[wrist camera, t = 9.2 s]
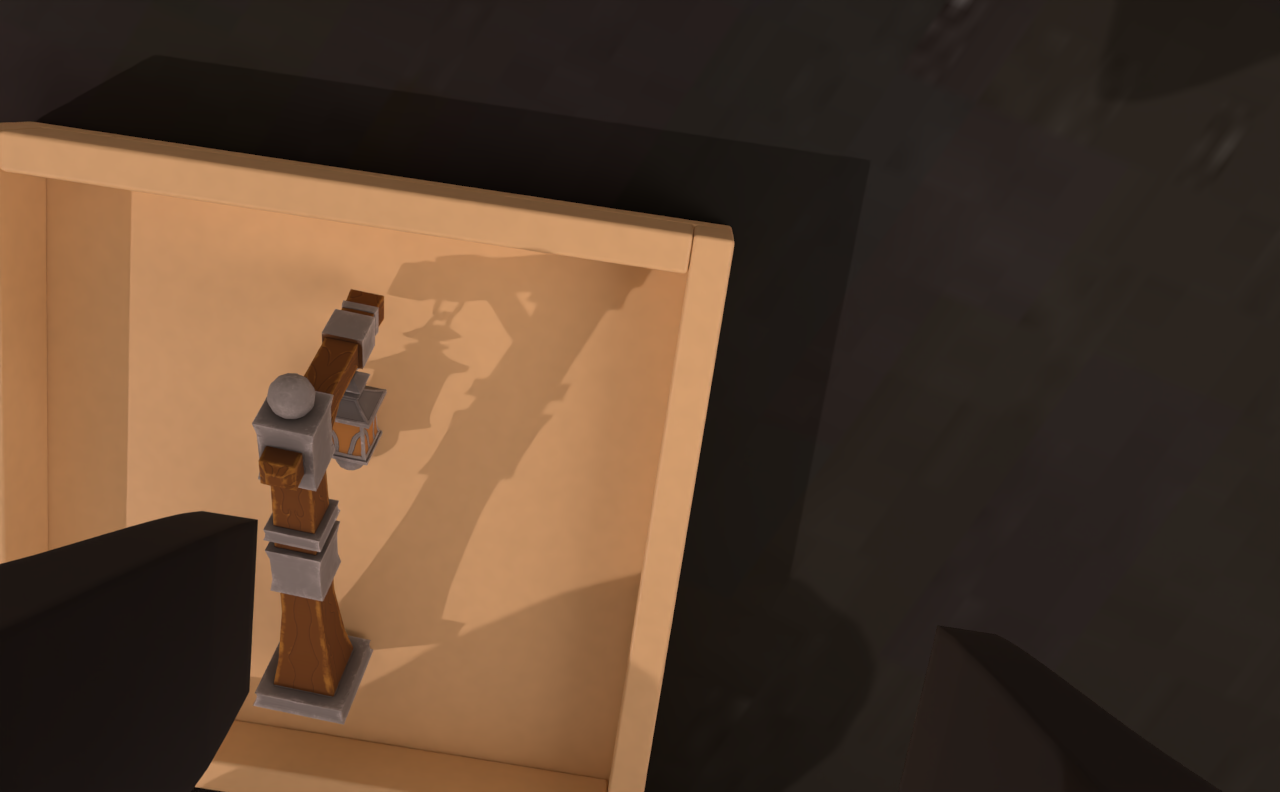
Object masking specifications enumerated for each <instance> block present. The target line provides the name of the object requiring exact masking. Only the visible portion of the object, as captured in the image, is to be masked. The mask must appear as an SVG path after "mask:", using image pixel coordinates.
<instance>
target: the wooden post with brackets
mask: <svg viewBox="0 0 1280 792" xmlns="http://www.w3.org/2000/svg"><path fill="white" fill-rule="evenodd" d="M383 320H384V296H382V295H378V294H373V293H368V292H363V291H358V290H353V289H351V290H350V292H349V295H348V297H347V300H346V301H345V300H343V303H342V309H341V310H338V309H335V310H334V312H333V314H332V315H331V317H330V319H329V321H328V322H327V324H326V326H325V328H324V329H323V331H322V345H321V346H320V348H319V350H318V352H317V354H316V355H315V357H314V359H313V361H312V362H311V364H310V366H309V368H308V370H307V371H306V373H305V375H304V376H302V375H299V374H297V373H286V374H283V375H280V376H278V377H277V378H276V379H275V380H274V381H273V382H272V383H271V384H270V386H269V389H268V394H267V397H266V399H265V401H264V403H263V405H262V406H261V408H260V410H259V412H258V413H257V415H256V417H255V419H254V421H253V422H252V425H253V427H254V430H255V432H256V434H257V443H258V452H259V460H258V462H259V476H258V479H259V480H260V483H262V484H265V485H269V486H271V499H272V514H271V516H270V518H269V520H268V522H267V523H266V525H265V527H264V529H263V530H264V532H265V538H264V539H263V540H265V541H269V543H268V545H267V547H266V549H265V552H266V554H267V555H268V557H269V559H270V565H271V572H272V584H271V590H270V591H275V592H280V595H281V608H282V616H281V631H280V641H279V644H278V646H277V648H276V650H275V652H274V654H273V656H272V658H271V660H270V662H269V664H268V666H267V668H266V670H265V673H264V675H263V677H262V679H261V681H260V683H259V685H258V687H257V689H256V691H255V694H256V695H257V698H256V700H255V702H254V704H253V706H257V707H262V708H267V709H271V710H276V711H281V712H286V713H291V714H295V715H300V716H305V717H310V718H314V719H319V720H324V721H329V722H334V723H338V724H343V725H344V723H345V720H346V718H347V715H348V713H349V710H350V708H351V705H352V703H353V700H354V698H355V695H356V693H357V690H358V688H359V685H360V683H361V680H362V678H363V675H364V673H365V670H366V668H367V665H368V663H369V660H370V658H371V655H372V653H373V649H370V646H369V643H370V641H371V640H368V639H363V638H358V637H353V636H348V635H347V633H346V631H345V628H344V624H343V620H342V617H341V613H340V609H339V605H338V601H337V597H336V594H335V590H334V576H335V574H336V572H337V570H338V568H339V565H340V563H341V560H340V557H339V555H338V543H337V532H338V528H339V524H340V521H337V520H336V519H337V517H338V515H339V512H340V510H339V509H338V502H339V501H338V500H333V499H329V497H328V485H327V474H326V469H327V467H328V465H329V463H330V461H331V459H332V458H333V459H335V460H336V462H337V463H338V464H339V466H340V467H342V468H344V469H346V470H356V469H359V468H361V467H362V466H363V465H368V463H369V460H370V458H371V456H372V454H373V452H374V450H375V448H376V446H377V444H378V442H379V440H380V438H381V435H382V430H380V429H379V428H378V425H377V415H376V414H377V411H378V409H379V407H380V405H381V403H382V401H383V399H384V397H385V395H386V393H387V390H386V389H381V388H376V387H371V386H366V384H367V383H366V382H367V380H368V378H369V376H370V374H368V373H364V372H359V371H356V370H358V369H363V368H364V366H365V364H366V362H367V360H368V358H369V356H370V354H371V352H372V350H373V348H374V346H375V336H376V335H377V333H378V332H379V326H380V324H381V323H382V321H383Z"/></svg>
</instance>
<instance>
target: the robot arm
mask: <svg viewBox="0 0 1280 792" xmlns="http://www.w3.org/2000/svg"><path fill="white" fill-rule="evenodd" d="M257 530H258V520H257V519H251V518H244V517H238V516H231V515H225V514H218V513H212V512H206V511H197V512H189V513H182V514H177V515H173V516H168V517H164V518H160V519H156V520H152V521H149V522H145V523H141V524H138V525H134V526H131V527H127V528H124V529H120V530H117V531H114V532H110V533H107V534H103V535H100V536H97V537H93V538H90V539H86V540H83V541H80V542H76V543H73V544H70V545H66V546H63V547H59V548H56V549H53V550H49V551H46V552H42V553H39V554H36V555H32V556H28V557H25V558H21V559H17V560H13V561H9V562H6V563H2V564H0V792H191V791H192V790H193V788H194V787H195V786H196V784H197V783H198V781H199V780H200V779H201V777H202V776H203V774H204V773H205V772H206V770H207V769H208V767H209V765H210V764H211V762H212V760H213V758H214V757H215V755H216V753H217V751H218V749H219V748H220V746H221V744H222V742H223V741H224V739H225V737H226V735H227V734H228V732H229V730H230V728H231V726H232V724H233V722H234V720H235V718H236V716H237V714H238V713H239V711H240V709H241V707H242V705H243V703H244V701H245V699H246V697H247V695H248V693H249V690H250V670H251V650H252V630H253V610H254V590H255V570H256V550H257ZM898 792H1222V791H1221V790H1219V789H1218V788H1216V787H1215V786H1213V785H1212V784H1210V783H1208V782H1207V781H1205V780H1204V779H1202V778H1201V777H1199V776H1198V775H1196V774H1195V773H1193V772H1192V771H1190V770H1189V769H1187V768H1186V767H1184V766H1183V765H1181V764H1180V763H1178V762H1177V761H1175V760H1174V759H1172V758H1171V757H1169V756H1168V755H1166V754H1165V753H1164V752H1162V751H1161V750H1159V749H1158V748H1156V747H1155V746H1154V745H1152V744H1151V743H1149V742H1148V741H1146V740H1145V739H1144V738H1142V737H1141V736H1139V735H1138V734H1137V733H1135V732H1134V731H1132V730H1131V729H1130V728H1128V727H1127V726H1126V725H1124V724H1123V723H1121V722H1120V721H1119V720H1117V719H1116V718H1115V717H1113V716H1112V715H1111V714H1109V713H1108V712H1106V711H1105V710H1104V709H1102V708H1101V707H1100V706H1098V705H1097V704H1096V703H1094V702H1093V701H1092V700H1090V699H1089V698H1088V697H1086V696H1085V695H1084V694H1082V693H1081V692H1080V691H1078V690H1077V689H1076V688H1074V687H1073V686H1072V685H1070V684H1069V683H1068V682H1066V681H1065V680H1064V679H1062V678H1061V677H1060V676H1058V675H1057V674H1056V673H1054V672H1053V671H1051V670H1050V669H1049V668H1047V667H1046V666H1045V665H1043V664H1042V663H1040V662H1039V661H1038V660H1036V659H1035V658H1033V657H1032V656H1031V655H1029V654H1028V653H1026V652H1025V651H1023V650H1022V649H1020V648H1019V647H1017V646H1016V645H1014V644H1013V643H1011V642H1009V641H1008V640H1006V639H1004V638H1002V637H1000V636H998V635H996V634H989V633H983V632H976V631H970V630H963V629H957V628H951V627H944V626H937V630H936V635H935V639H934V643H933V647H932V651H931V656H930V660H929V664H928V668H927V673H926V677H925V681H924V685H923V689H922V694H921V698H920V702H919V706H918V710H917V715H916V719H915V723H914V727H913V732H912V736H911V740H910V744H909V748H908V753H907V757H906V761H905V765H904V769H903V774H902V778H901V782H900V786H899V791H898Z"/></svg>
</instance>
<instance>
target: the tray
mask: <svg viewBox="0 0 1280 792" xmlns="http://www.w3.org/2000/svg"><path fill="white" fill-rule="evenodd" d="M733 250H734V238H733V233H732V228H731V227H730V226H727V225H720V224H713V223H707V222H700V221H693V220H687V219H680V218H673V217H667V216H660V215H653V214H647V213H640V212H633V211H626V210H620V209H613V208H606V207H600V206H593V205H586V204H580V203H573V202H566V201H560V200H553V199H546V198H540V197H533V196H526V195H519V194H513V193H506V192H499V191H493V190H486V189H479V188H473V187H466V186H459V185H453V184H446V183H439V182H433V181H426V180H419V179H412V178H406V177H399V176H392V175H386V174H379V173H372V172H366V171H359V170H352V169H346V168H339V167H332V166H325V165H319V164H312V163H305V162H299V161H292V160H285V159H279V158H272V157H265V156H259V155H252V154H245V153H239V152H232V151H225V150H218V149H212V148H205V147H198V146H192V145H185V144H178V143H172V142H165V141H158V140H152V139H145V138H138V137H132V136H125V135H118V134H111V133H105V132H98V131H91V130H85V129H78V128H71V127H65V126H58V125H51V124H45V123H38V122H15V123H13V122H8V123H0V564H2V563H6V562H9V561H13V560H17V559H21V558H25V557H28V556H32V555H36V554H39V553H42V552H46V551H49V550H53V549H56V548H59V547H63V546H66V545H70V544H73V543H76V542H80V541H83V540H86V539H90V538H93V537H97V536H100V535H103V534H107V533H110V532H114V531H117V530H120V529H124V528H127V527H131V526H134V525H138V524H141V523H145V522H149V521H152V520H156V519H160V518H164V517H168V516H173V515H177V514H182V513H189V512H197V511H206V512H212V513H218V514H225V515H231V516H238V517H244V518H251V519H257V520H258V530H257V550H256V570H255V590H254V610H253V630H252V650H251V670H250V690H249V693H248V695H247V697H246V699H245V701H244V703H243V705H242V707H241V709H240V711H239V713H238V714H237V716H236V718H235V720H234V722H233V724H232V726H231V728H230V730H229V732H228V734H227V735H226V737H225V739H224V741H223V742H222V744H221V746H220V748H219V749H218V751H217V753H216V755H215V757H214V758H213V760H212V762H211V764H210V765H209V767H208V769H207V770H206V772H205V773H204V774H203V776H202V777H201V779H200V780H199V781H198V783H197V784H196V786H195V787H198V788H204V789H211V790H217V791H223V792H644V789H645V783H646V777H647V771H648V765H649V759H650V753H651V747H652V741H653V735H654V729H655V723H656V717H657V711H658V705H659V699H660V692H661V686H662V680H663V674H664V668H665V662H666V656H667V650H668V644H669V638H670V632H671V626H672V620H673V614H674V608H675V602H676V596H677V589H678V583H679V577H680V571H681V565H682V559H683V553H684V547H685V541H686V535H687V529H688V523H689V517H690V511H691V505H692V499H693V493H694V486H695V480H696V474H697V468H698V462H699V456H700V450H701V444H702V438H703V432H704V426H705V420H706V414H707V408H708V402H709V396H710V390H711V383H712V377H713V371H714V365H715V359H716V353H717V347H718V341H719V335H720V329H721V323H722V317H723V311H724V305H725V299H726V293H727V287H728V280H729V274H730V268H731V262H732V256H733ZM351 289H353V290H358V291H363V292H368V293H373V294H378V295H382V296H384V320H383V321H382V323H381V324H380V326H379V332H378V333H377V335H376V336H375V346H374V348H373V350H372V352H371V354H370V356H369V358H368V360H367V362H366V364H365V366H364V368H363V369H358V370H356V371H359V372H364V373H368V374H370V376H369V378H368V380H367V382H366V383H367V384H366V386H371V387H376V388H381V389H386V390H387V393H386V395H385V397H384V399H383V401H382V403H381V405H380V407H379V409H378V411H377V414H376V415H377V425H378V428H379V429H380V430H382V435H381V438H380V440H379V442H378V444H377V446H376V448H375V450H374V452H373V454H372V456H371V458H370V460H369V463H368V465H363V466H362V467H361V468H359V469H356V470H346V469H344V468H342V467H340V466H339V464H338V463H337V462H336V460H335V459H333V458H332V459H331V461H330V463H329V465H328V467H327V469H326V474H327V485H328V497H329V499H333V500H338V501H339V502H338V509H339V510H340V512H339V515H338V517H337V519H336V520H337V521H340V524H339V528H338V532H337V543H338V555H339V557H340V560H341V563H340V565H339V568H338V570H337V572H336V574H335V576H334V590H335V594H336V597H337V601H338V605H339V609H340V613H341V617H342V620H343V624H344V628H345V631H346V633H347V635H348V636H353V637H358V638H363V639H368V640H371V641H370V643H369V646H370V649H373V653H372V655H371V658H370V660H369V663H368V665H367V668H366V670H365V673H364V675H363V678H362V680H361V683H360V685H359V688H358V690H357V693H356V695H355V698H354V700H353V703H352V705H351V708H350V710H349V713H348V715H347V718H346V720H345V723H344V725H343V724H338V723H334V722H329V721H324V720H319V719H314V718H310V717H305V716H300V715H295V714H291V713H286V712H281V711H276V710H271V709H267V708H262V707H257V706H253V704H254V702H255V700H256V698H257V695H256V694H255V691H256V689H257V687H258V685H259V683H260V681H261V679H262V677H263V675H264V673H265V670H266V668H267V666H268V664H269V662H270V660H271V658H272V656H273V654H274V652H275V650H276V648H277V646H278V644H279V641H280V631H281V616H282V608H281V595H280V592H275V591H270V590H271V584H272V572H271V565H270V559H269V557H268V555H267V554H266V552H265V549H266V547H267V545H268V543H269V541H265V540H263V539H264V538H265V532H264V530H263V529H264V527H265V525H266V523H267V522H268V520H269V518H270V516H271V514H272V499H271V486H269V485H265V484H262V483H260V480H259V479H258V476H259V462H258V460H259V452H258V443H257V434H256V432H255V430H254V427H253V425H252V422H253V421H254V419H255V417H256V415H257V413H258V412H259V410H260V408H261V406H262V405H263V403H264V401H265V399H266V397H267V394H268V389H269V386H270V384H271V383H272V382H273V381H274V380H275V379H276V378H277V377H278V376H280V375H283V374H286V373H297V374H299V375H302V376H304V375H305V373H306V371H307V370H308V368H309V366H310V364H311V362H312V361H313V359H314V357H315V355H316V354H317V352H318V350H319V348H320V346H321V345H322V331H323V329H324V328H325V326H326V324H327V322H328V321H329V319H330V317H331V315H332V314H333V312H334V310H335V309H338V310H341V309H342V303H343V300H345V301H346V300H347V297H348V295H349V292H350V290H351Z"/></svg>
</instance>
